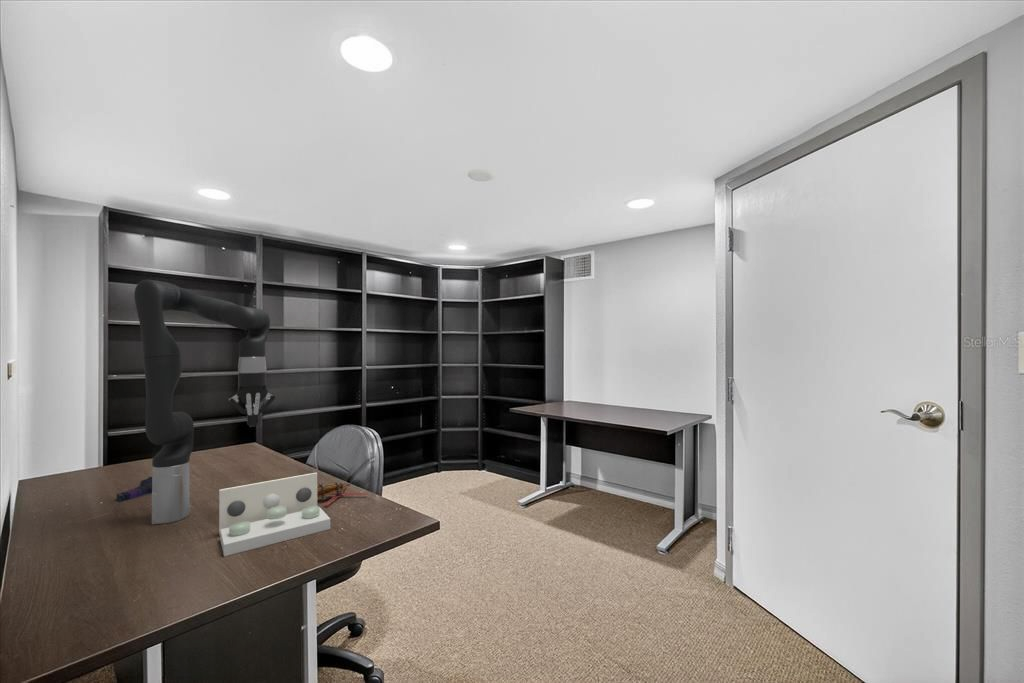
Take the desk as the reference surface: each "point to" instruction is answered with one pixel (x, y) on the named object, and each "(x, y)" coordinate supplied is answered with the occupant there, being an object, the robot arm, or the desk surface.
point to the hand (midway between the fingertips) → (252, 426)
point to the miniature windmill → (333, 491)
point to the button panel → (273, 532)
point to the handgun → (137, 490)
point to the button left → (239, 528)
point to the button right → (310, 512)
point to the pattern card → (266, 499)
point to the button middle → (276, 512)
